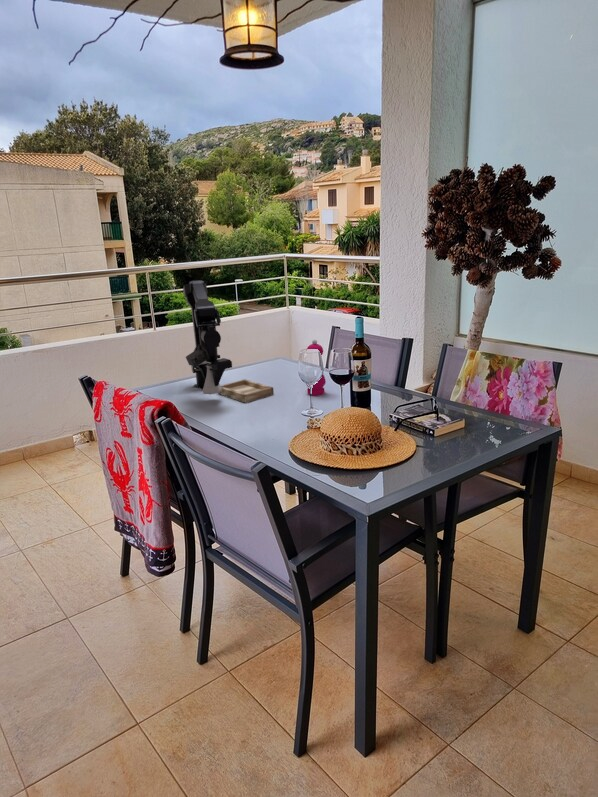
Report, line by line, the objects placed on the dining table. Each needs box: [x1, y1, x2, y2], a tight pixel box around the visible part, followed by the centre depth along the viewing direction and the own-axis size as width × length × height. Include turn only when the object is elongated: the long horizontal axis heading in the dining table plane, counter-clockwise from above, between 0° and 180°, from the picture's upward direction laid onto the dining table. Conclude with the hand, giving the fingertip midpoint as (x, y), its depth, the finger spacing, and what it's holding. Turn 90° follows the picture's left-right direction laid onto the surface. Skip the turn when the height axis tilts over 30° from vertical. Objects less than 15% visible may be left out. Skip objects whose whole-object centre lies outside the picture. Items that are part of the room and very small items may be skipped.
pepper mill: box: [305, 339, 326, 397], centre depth 202 cm, size 7×7×20 cm
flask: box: [201, 364, 222, 395], centre depth 197 cm, size 7×7×10 cm
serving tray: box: [217, 378, 275, 404], centre depth 206 cm, size 17×13×3 cm
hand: (211, 384), depth 198 cm, fingers closed on flask, 5 cm apart
